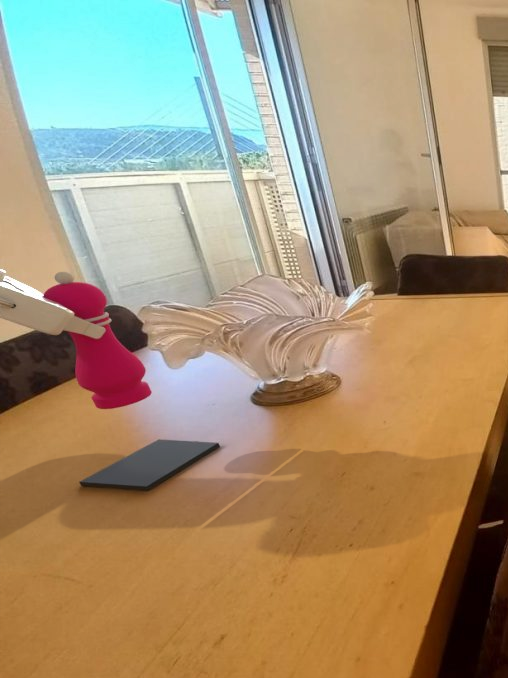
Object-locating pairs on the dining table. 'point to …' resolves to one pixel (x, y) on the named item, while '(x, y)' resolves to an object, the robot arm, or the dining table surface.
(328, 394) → the dining table surface
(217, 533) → the dining table surface
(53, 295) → the pepper mill
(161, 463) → the slate mat
